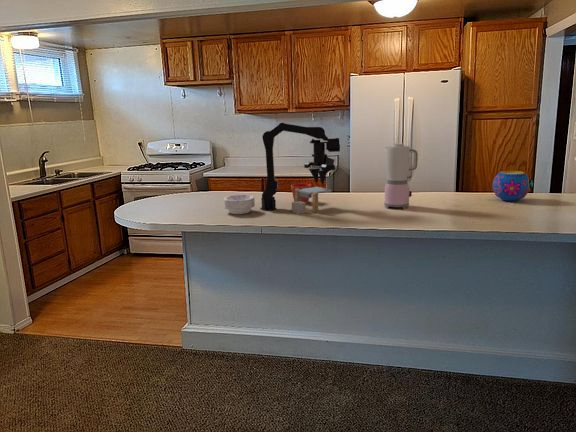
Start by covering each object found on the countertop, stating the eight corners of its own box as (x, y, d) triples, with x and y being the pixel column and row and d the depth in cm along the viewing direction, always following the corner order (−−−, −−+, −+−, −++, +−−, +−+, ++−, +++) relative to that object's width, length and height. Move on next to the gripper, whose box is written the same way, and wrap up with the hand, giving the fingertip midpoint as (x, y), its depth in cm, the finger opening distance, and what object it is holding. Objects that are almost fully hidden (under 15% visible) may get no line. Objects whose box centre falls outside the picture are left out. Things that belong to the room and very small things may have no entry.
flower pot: (304, 205, 236) (303, 187, 234) (287, 203, 243) (287, 185, 240) (315, 201, 244) (314, 184, 242) (299, 199, 251) (298, 182, 249)
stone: (297, 214, 217) (297, 204, 215) (291, 212, 221) (291, 202, 220) (305, 212, 219) (305, 202, 218) (300, 210, 223) (299, 201, 222)
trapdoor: (310, 198, 216) (310, 192, 216) (297, 195, 226) (296, 189, 226) (331, 195, 223) (331, 189, 223) (317, 192, 233) (317, 186, 232)
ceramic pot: (535, 203, 224) (538, 174, 221) (500, 204, 225) (502, 174, 221) (518, 196, 241) (521, 169, 238) (485, 197, 242) (488, 170, 238)
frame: (315, 213, 216) (314, 193, 214) (295, 207, 230) (295, 188, 228) (318, 212, 217) (318, 192, 215) (298, 207, 231) (298, 188, 229)
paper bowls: (227, 217, 214) (226, 201, 212) (222, 210, 228) (221, 195, 227) (257, 214, 218) (257, 198, 216) (251, 208, 232) (251, 193, 231)
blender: (383, 209, 221) (385, 144, 213) (383, 204, 232) (385, 142, 225) (416, 209, 217) (419, 144, 210) (414, 204, 229) (417, 142, 222)
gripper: (343, 152, 218) (343, 183, 222) (320, 150, 234) (320, 179, 237) (325, 153, 212) (326, 185, 216) (303, 151, 228) (304, 181, 231)
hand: (319, 183), depth 225 cm, fingers open, 4 cm apart
